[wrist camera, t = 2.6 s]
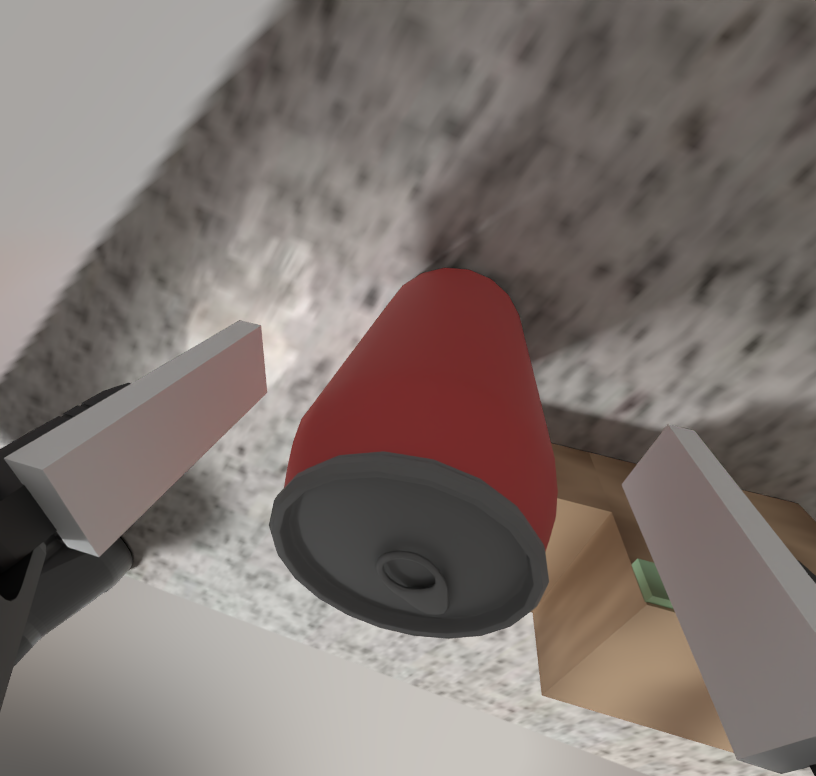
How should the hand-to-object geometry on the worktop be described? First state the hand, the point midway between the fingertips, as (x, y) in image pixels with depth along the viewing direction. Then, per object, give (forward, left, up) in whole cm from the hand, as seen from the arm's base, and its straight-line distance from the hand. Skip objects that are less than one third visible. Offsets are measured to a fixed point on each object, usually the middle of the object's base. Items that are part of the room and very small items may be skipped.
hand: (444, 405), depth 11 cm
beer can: (0, 0, -7) cm, 7 cm away
